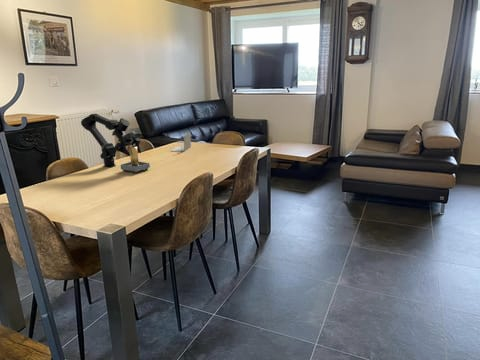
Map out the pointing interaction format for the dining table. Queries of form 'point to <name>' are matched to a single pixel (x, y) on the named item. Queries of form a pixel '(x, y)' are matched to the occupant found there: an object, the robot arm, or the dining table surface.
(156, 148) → the dining table surface
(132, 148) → the gold cylinder
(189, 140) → the laptop
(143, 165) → the gray rectangular tray
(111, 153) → the robot arm
